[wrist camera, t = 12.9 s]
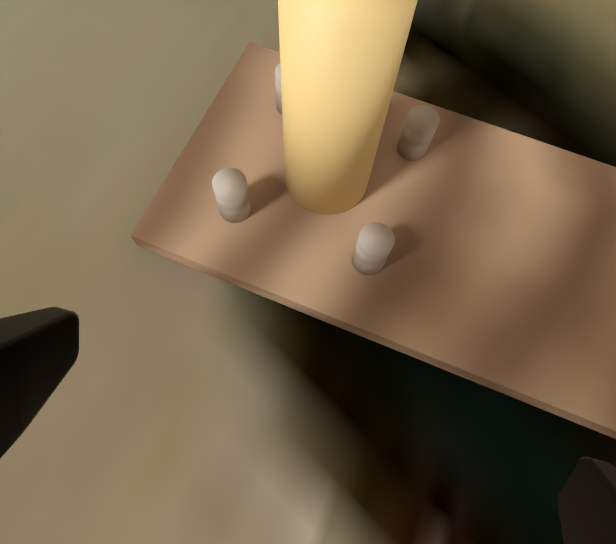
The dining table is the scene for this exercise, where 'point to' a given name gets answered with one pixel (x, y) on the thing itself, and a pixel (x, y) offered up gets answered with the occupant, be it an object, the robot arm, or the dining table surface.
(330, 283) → the board
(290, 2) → the post
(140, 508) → the dining table surface
